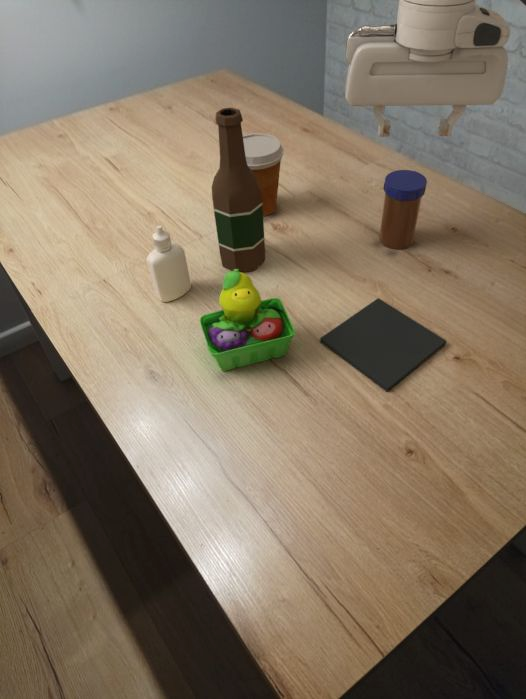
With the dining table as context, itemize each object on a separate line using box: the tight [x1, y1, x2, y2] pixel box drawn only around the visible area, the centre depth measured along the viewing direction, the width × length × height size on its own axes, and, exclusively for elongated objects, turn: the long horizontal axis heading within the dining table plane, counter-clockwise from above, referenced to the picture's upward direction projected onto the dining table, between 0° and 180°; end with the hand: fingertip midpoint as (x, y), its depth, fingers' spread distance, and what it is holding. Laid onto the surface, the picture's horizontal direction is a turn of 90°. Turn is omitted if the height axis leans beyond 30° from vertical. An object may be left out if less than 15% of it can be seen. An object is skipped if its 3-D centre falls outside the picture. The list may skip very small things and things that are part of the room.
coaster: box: [319, 297, 447, 393], centre depth 70 cm, size 12×12×1 cm
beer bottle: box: [211, 107, 266, 273], centre depth 76 cm, size 8×8×24 cm
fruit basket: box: [199, 269, 296, 372], centre depth 67 cm, size 11×9×11 cm
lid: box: [382, 169, 428, 201], centre depth 79 cm, size 6×6×2 cm
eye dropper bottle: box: [146, 225, 192, 303], centre depth 76 cm, size 4×6×12 cm
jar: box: [378, 192, 423, 250], centre depth 83 cm, size 6×6×10 cm
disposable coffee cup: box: [242, 132, 285, 217], centre depth 91 cm, size 10×10×12 cm
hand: (413, 134), depth 73 cm, fingers open, 7 cm apart
